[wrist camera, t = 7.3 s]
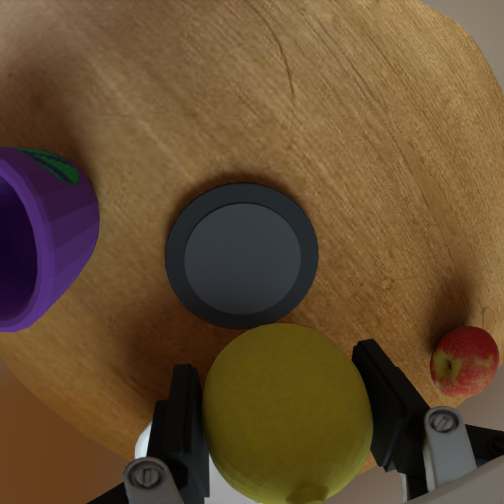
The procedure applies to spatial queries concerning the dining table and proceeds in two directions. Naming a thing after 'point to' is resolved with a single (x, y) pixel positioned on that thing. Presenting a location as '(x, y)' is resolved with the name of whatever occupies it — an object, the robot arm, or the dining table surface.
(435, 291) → the dining table surface
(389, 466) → the robot arm
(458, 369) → the apple
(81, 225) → the mug
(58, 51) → the dining table surface
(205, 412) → the lemon
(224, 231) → the plate
